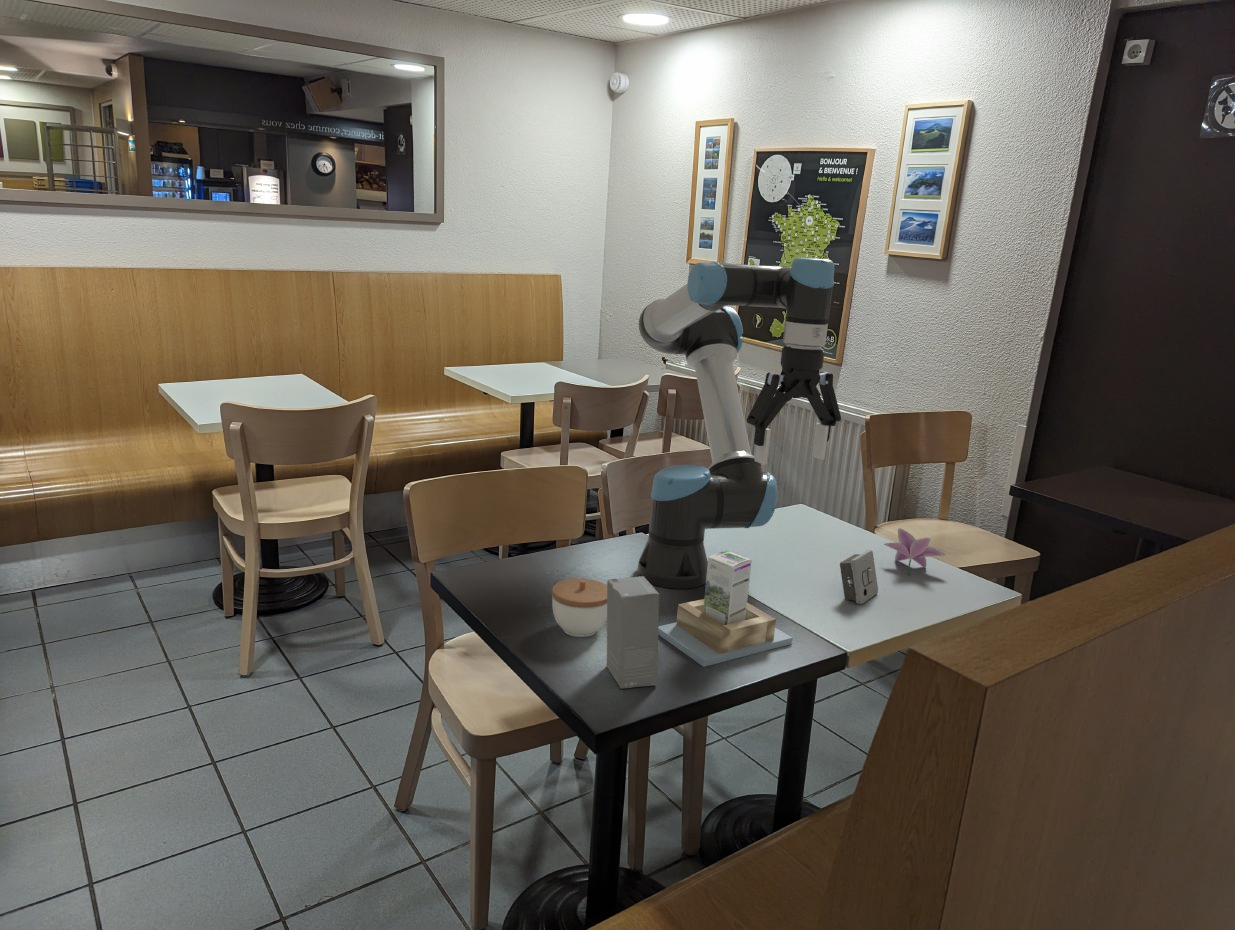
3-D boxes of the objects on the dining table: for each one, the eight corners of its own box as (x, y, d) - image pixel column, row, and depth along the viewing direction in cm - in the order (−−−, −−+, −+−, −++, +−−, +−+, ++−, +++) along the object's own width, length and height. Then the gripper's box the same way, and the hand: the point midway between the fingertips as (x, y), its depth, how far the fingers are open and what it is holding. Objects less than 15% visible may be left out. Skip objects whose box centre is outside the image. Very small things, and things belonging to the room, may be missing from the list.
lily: (948, 582, 192) (951, 540, 194) (920, 571, 185) (924, 527, 187) (899, 581, 201) (903, 541, 203) (871, 570, 194) (876, 528, 196)
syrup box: (745, 633, 154) (753, 558, 150) (725, 643, 150) (733, 565, 146) (720, 622, 158) (727, 548, 154) (699, 631, 154) (707, 555, 150)
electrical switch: (860, 606, 173) (862, 562, 171) (836, 601, 176) (838, 557, 174) (878, 594, 180) (880, 551, 178) (855, 589, 183) (857, 547, 181)
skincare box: (658, 686, 136) (665, 594, 132) (615, 691, 134) (621, 597, 130) (641, 661, 144) (648, 573, 140) (600, 665, 142) (606, 575, 138)
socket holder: (703, 666, 144) (706, 638, 142) (656, 632, 155) (658, 606, 154) (791, 643, 154) (795, 617, 153) (741, 613, 165) (744, 588, 164)
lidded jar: (553, 615, 160) (555, 567, 157) (610, 619, 159) (614, 572, 157) (547, 641, 149) (549, 590, 147) (608, 645, 149) (611, 595, 147)
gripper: (760, 349, 145) (747, 470, 151) (870, 349, 157) (854, 461, 162) (734, 343, 152) (723, 459, 157) (841, 343, 163) (827, 451, 169)
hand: (789, 460), depth 160 cm, fingers open, 13 cm apart
